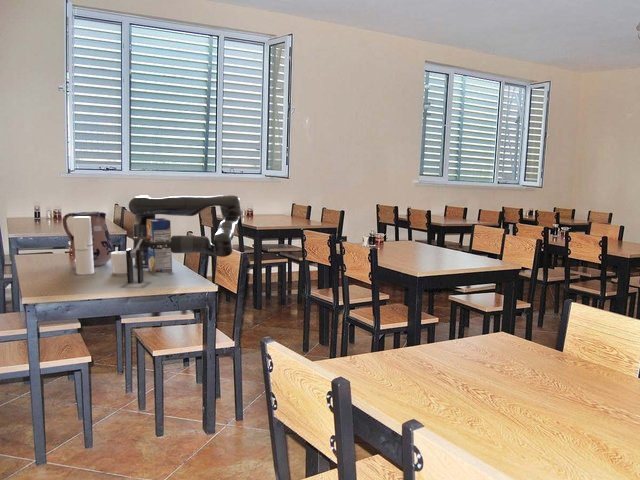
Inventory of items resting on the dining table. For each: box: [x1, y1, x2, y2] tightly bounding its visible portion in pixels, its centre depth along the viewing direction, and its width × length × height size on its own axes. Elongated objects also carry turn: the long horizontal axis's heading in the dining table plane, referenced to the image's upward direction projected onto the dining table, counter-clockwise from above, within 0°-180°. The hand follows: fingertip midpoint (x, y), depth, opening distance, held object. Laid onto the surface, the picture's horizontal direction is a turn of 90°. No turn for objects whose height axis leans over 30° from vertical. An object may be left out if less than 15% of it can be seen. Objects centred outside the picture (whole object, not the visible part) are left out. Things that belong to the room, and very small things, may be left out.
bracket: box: [125, 248, 145, 284], centre depth 264 cm, size 10×8×15 cm
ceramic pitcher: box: [62, 211, 114, 267], centre depth 306 cm, size 18×21×25 cm
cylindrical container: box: [72, 216, 95, 276], centre depth 286 cm, size 7×7×25 cm
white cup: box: [110, 250, 127, 275], centre depth 285 cm, size 8×8×10 cm
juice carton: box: [146, 217, 173, 274], centre depth 290 cm, size 12×8×24 cm, turn 34°
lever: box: [130, 236, 151, 259], centre depth 267 cm, size 14×7×2 cm, turn 5°
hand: (142, 244), depth 274 cm, fingers closed
